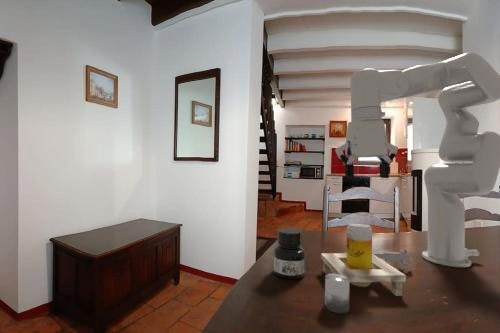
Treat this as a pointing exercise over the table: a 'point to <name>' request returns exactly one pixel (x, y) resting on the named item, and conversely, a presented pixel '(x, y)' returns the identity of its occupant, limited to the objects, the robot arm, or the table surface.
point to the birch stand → (364, 271)
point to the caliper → (395, 258)
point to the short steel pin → (337, 293)
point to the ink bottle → (289, 254)
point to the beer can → (359, 248)
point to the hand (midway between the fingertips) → (367, 178)
